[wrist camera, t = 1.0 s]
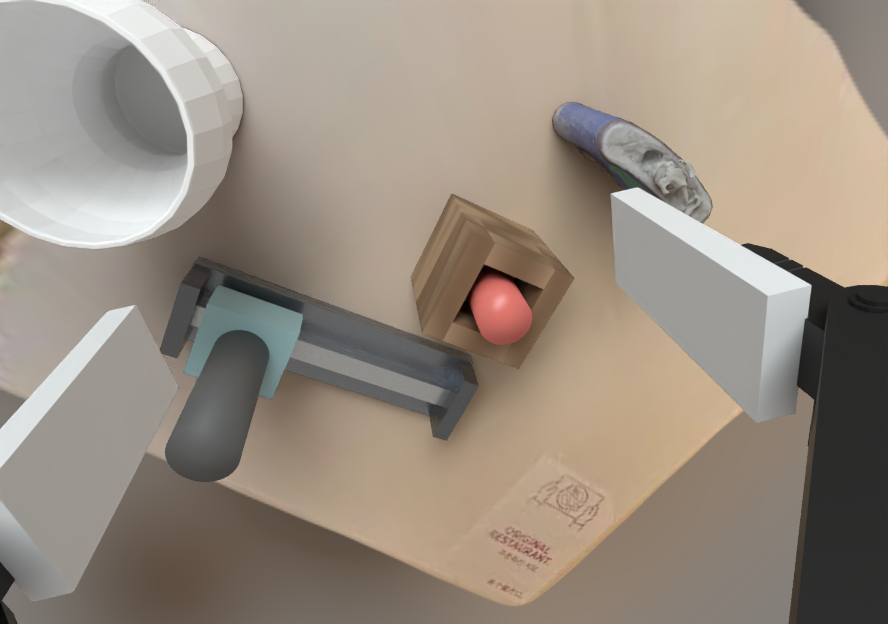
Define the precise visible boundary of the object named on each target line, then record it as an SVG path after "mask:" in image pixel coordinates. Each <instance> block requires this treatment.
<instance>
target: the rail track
mask: <svg viewBox="0 0 888 624" xmlns="http://www.w3.org/2000/svg"><path fill="white" fill-rule="evenodd" d="M218 285H220V286H223V287H226V288H229V289H232V290H235V291H237V292H240V293H243V294H246V295H249V296H252V297H255V298H257V299H260V300H263V301H266V302H269V303H272V304H274V305H277V306H280V307H283V308H286V309H289V310H292V311H294V312H297V313H300V314H303V316H302V317H303V319H302V324H301V329H300V334H299V336H298V339H297V341H296V343H295V346H294V348H293V350H292V353H291V355H290V358H289V360H288V362H287V365H286V367H285V369H284V370H287V371H290V372H293V373H296V374H299V375H303V376H306V377H309V378H312V379H315V380H318V381H321V382H325V383H328V384H331V385H334V386H337V387H340V388H344V389H347V390H350V391H353V392H356V393H359V394H362V395H366V396H369V397H372V398H375V399H378V400H381V401H384V402H388V403H391V404H394V405H397V406H400V407H403V408H407V409H410V410H413V411H416V412H419V413H422V414H425V415H429V416H430V422H431V427H432V433H433V437H436V438H440V439H443V440H446V441H447V439H448V437H449V436H450V434H451V432H452V431H453V429H454V427H455V425H456V424H457V422H458V420H459V419H460V417H461V415H462V414H463V412H464V410H465V408H466V407H467V405H468V403H469V402H470V400H471V398H472V397H473V395H474V393H475V391H476V390H477V388H478V386H479V385H478V382H477V379H476V376H475V373H474V370H473V367H472V364H473V362H472V359H471V356H470V355H468V354H465V353H462V352H459V351H457V350H454V349H451V348H448V347H446V346H443V345H440V344H437V343H435V342H432V341H429V340H426V339H424V338H421V337H418V336H415V335H413V334H410V333H407V332H404V331H402V330H399V329H396V328H393V327H391V326H388V325H385V324H382V323H380V322H377V321H374V320H371V319H369V318H366V317H363V316H360V315H358V314H355V313H352V312H349V311H347V310H344V309H341V308H338V307H335V306H333V305H330V304H327V303H324V302H322V301H319V300H316V299H313V298H311V297H308V296H305V295H302V294H300V293H297V292H294V291H291V290H289V289H286V288H283V287H280V286H278V285H275V284H272V283H269V282H267V281H264V280H261V279H258V278H256V277H253V276H250V275H247V274H245V273H242V272H239V271H236V270H234V269H231V268H228V267H225V266H223V265H220V264H217V263H214V262H211V261H209V260H206V259H203V258H200V257H199V258H198V259H197V260H196V262H195V263H194V266H193V267H192V269H191V270H190V271H189V273H188V274H187V276H186V277H185V278H184V280H183V281H182V283H181V285H180V288H179V291H178V294H177V298H176V301H175V304H174V307H173V310H172V313H171V316H170V319H169V323H168V326H167V329H166V332H165V335H164V338H163V341H162V344H161V348H160V352H161V354H165V355H168V356H171V357H174V358H178V356H179V354H180V352H181V351H182V349H183V347H184V345H185V344H186V342H187V340H188V339H189V340H192V341H195V338H196V335H197V332H198V329H199V326H200V323H201V320H202V317H203V315H204V312H205V309H206V306H207V303H208V301H209V300H210V298H211V296H212V294H213V293H214V291H215V289H216V287H218Z"/></svg>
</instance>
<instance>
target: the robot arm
mask: <svg viewBox="0 0 888 624" xmlns="http://www.w3.org/2000/svg"><path fill="white" fill-rule="evenodd" d="M611 208H612V226H613V244H614V262H615V280H616V284H617V285H618V286H619V287H620V288H621V289H622V290H623V291H624V292H625V293H626V294H627V295H628V296H629V297H630V298H631V299H632V300H633V301H634V302H635V303H636V304H637V305H638V306H639V307H640V308H641V309H642V310H643V311H644V312H645V313H646V314H647V315H648V316H649V317H650V318H651V319H652V320H653V321H654V322H655V323H656V324H657V325H658V326H659V327H660V328H661V329H662V330H663V331H664V332H665V333H666V334H667V335H668V336H669V337H670V338H671V339H672V340H673V341H674V342H675V343H676V344H677V345H678V346H679V347H680V348H682V349H683V350H684V351H685V352H686V353H687V354H688V355H689V356H690V357H691V358H692V359H693V360H694V361H695V362H696V363H697V364H698V365H699V366H700V367H701V368H702V369H703V370H704V371H705V372H706V373H707V374H708V375H709V376H710V377H711V378H712V379H713V380H714V381H715V382H716V383H717V384H718V385H719V386H720V387H721V388H722V389H723V390H724V391H725V392H726V393H727V394H728V395H729V396H730V397H731V398H732V399H733V400H734V401H735V402H736V403H737V404H738V405H739V406H740V407H741V408H742V409H743V410H744V411H745V412H746V413H747V414H748V415H749V416H750V417H751V418H752V419H753V420H754V421H755V422H756V423H759V422H763V421H766V420H771V419H775V418H779V417H783V416H787V415H791V414H795V411H796V403H797V395H798V387H799V388H801V389H802V390H803V391H804V392H806V393H807V394H808V395H809V396H811V397H812V398H813V399H814V406H813V414H812V420H811V426H810V433H809V440H808V446H809V447H808V456H807V465H806V474H805V483H804V492H803V501H802V509H801V519H800V527H799V536H798V545H797V554H796V563H795V572H794V580H793V589H792V598H791V607H790V616H789V624H888V287H886V286H878V285H856V286H851V287H845V288H844V287H842V286H840V285H839V284H837V283H835V282H833V281H831V280H829V279H827V278H825V277H823V276H822V275H820V274H818V273H816V272H814V271H812V270H810V269H808V268H803V265H801V264H799V263H797V262H795V261H793V260H789V258H788V257H786V256H784V255H782V254H780V253H778V252H776V251H774V250H773V249H770V248H766V247H761V246H757V245H753V244H749V243H747V244H743V245H739V244H738V243H736V242H734V241H732V240H730V239H729V238H727V237H725V236H723V235H722V234H720V233H718V232H716V231H715V230H713V229H711V228H709V227H707V226H706V225H704V224H702V223H700V222H699V221H697V220H695V219H693V218H691V217H690V216H688V215H686V214H684V213H683V212H681V211H679V210H677V209H675V208H674V207H672V206H670V205H668V204H667V203H665V202H663V201H661V200H659V199H658V198H656V197H654V196H652V195H651V194H649V193H647V192H645V191H644V190H642V189H640V188H638V187H637V188H632V189H628V190H624V191H619V192H615V193H611ZM178 388H179V387H178V385H177V383H176V381H175V379H174V377H173V375H172V374H171V372H170V370H169V368H168V366H167V364H166V362H165V360H164V358H163V356H162V354H161V352H160V350H159V348H158V346H157V345H156V343H155V341H154V339H153V337H152V335H151V333H150V331H149V329H148V327H147V325H146V323H145V321H144V319H143V317H142V316H141V314H140V312H139V310H138V308H137V306H136V305H132V306H128V307H124V308H120V309H115V310H111V311H107V312H106V314H105V315H104V316H103V317H102V318H101V319H100V320H99V321H98V322H97V323H96V325H95V326H94V327H93V328H92V329H91V330H90V331H89V332H88V333H87V334H86V336H85V337H84V338H83V339H82V340H81V341H80V342H79V343H78V344H77V345H76V347H75V348H74V349H73V350H72V351H71V352H70V353H69V354H68V355H67V356H66V357H65V359H64V360H63V361H62V362H61V363H60V364H59V365H58V366H57V367H56V368H55V370H54V371H53V372H52V373H51V374H50V375H49V376H48V377H47V378H46V379H45V381H44V382H43V383H42V384H41V385H40V386H39V387H38V388H37V389H36V390H35V392H34V393H33V394H32V395H31V396H30V397H29V398H28V399H27V400H26V401H25V403H24V404H23V405H22V406H21V407H20V408H19V409H18V410H17V411H16V413H15V414H14V415H13V416H12V417H11V418H10V419H9V420H8V421H7V423H5V425H4V426H3V427H2V428H1V429H0V624H17V621H16V619H15V616H14V614H13V613H12V611H11V610H10V609H9V608H8V607H7V606H6V605H5V604H4V602H3V601H2V599H3V597H4V596H5V595H6V593H7V591H8V590H9V588H10V587H11V585H12V584H13V582H15V583H16V584H17V585H18V586H19V588H20V589H21V590H22V591H23V592H24V593H25V595H26V596H27V597H28V598H29V599H30V600H31V601H32V602H35V601H39V600H43V599H47V598H51V597H55V596H59V595H63V594H67V593H72V592H74V590H75V588H76V586H77V584H78V582H79V580H80V578H81V576H82V575H83V573H84V571H85V569H86V567H87V565H88V563H89V561H90V559H91V557H92V555H93V553H94V551H95V549H96V547H97V545H98V543H99V542H100V540H101V538H102V536H103V534H104V532H105V530H106V527H107V526H108V524H109V522H110V520H111V518H112V516H113V514H114V512H115V510H116V509H117V506H118V504H119V503H120V501H121V499H122V497H123V495H124V493H125V491H126V489H127V487H128V485H129V483H130V481H131V479H132V477H133V475H134V474H135V472H136V470H137V468H138V466H139V464H140V462H141V460H142V458H143V456H144V454H145V452H146V450H147V448H148V446H149V444H150V442H151V441H152V439H153V437H154V435H155V433H156V431H157V429H158V427H159V425H160V423H161V421H162V419H163V417H164V415H165V413H166V411H167V409H168V408H169V406H170V404H171V402H172V400H173V398H174V396H175V394H176V392H177V390H178Z"/></svg>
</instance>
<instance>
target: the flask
mask: <svg viewBox="0 0 888 624" xmlns="http://www.w3.org/2000/svg"><path fill="white" fill-rule="evenodd" d="M552 122H553V127H554V129H555V130H556V132H557V133H558V134H559V135H560V136H561V137H562V139H564V140H565V141H569V142H571V143H573V144H574V145H575V146H577V148H578V149H579V150H580V152H581V153H582V154H583V155H584V156H585V158H588V159H589V160H590V161H594V162H595V163H596V162H597V163H599V164H601V166H602V171H603V170H604V171H606V172H609V173H610V174H611V175H612V177H613V180H615V181H616V182H617V183H618V185H619V186H621V187H622V188H623V189H624V190H628V189H632V188H637V187H638V188H640V189H642V190H644V191H645V192H647V193H649V194H651V195H652V196H654V197H656V198H658V199H659V200H661V201H663V202H665V203H667V204H668V205H670V206H672V207H674V208H675V209H677V210H679V211H681V212H683V213H684V214H686V215H688V216H690V217H691V218H693V219H695V220H697V221H699V222H700V223H702V224H703V223H704V222H705V221H706V219H708V217H709V215H710V213H711V210H712V207H713V206H712V201H711V198H710V196H709V194H708V193H707V191H706V190H705V189H704V187H703V185H702V184H701V182H700V181H699V179H698V178H697V177H696V175H695V170H694V168H693V166H692V164H690V163H687V164H686V163H685V162H684V160H682V158H680V157H679V156H678V155H677V154H676V153H674V152H673V151H672V150H671V149H670V148H669V147H668V146H667V145H666V144H665V143H663V142H662V141H660V140H659V139H658V138H656V137H655V136H653V135H652V134H650V133H649V132H647V131H645V130H644V129H642V128H640V127H639V126H637V125H635V124H634V123H632V122H628V121H626V120H623V119H621V118H618V117H614V116H611V115H609V114H605V113H602V112H600V111H597V110H594V109H592V108H589V107H587V106H584V105H582V104H580V103H575V102H569V103H568V102H567V103H565V104H563V105H562V106H560V107H559V108H558V109H557V110H556V112H555V114H554V116H553V118H552Z"/></svg>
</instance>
